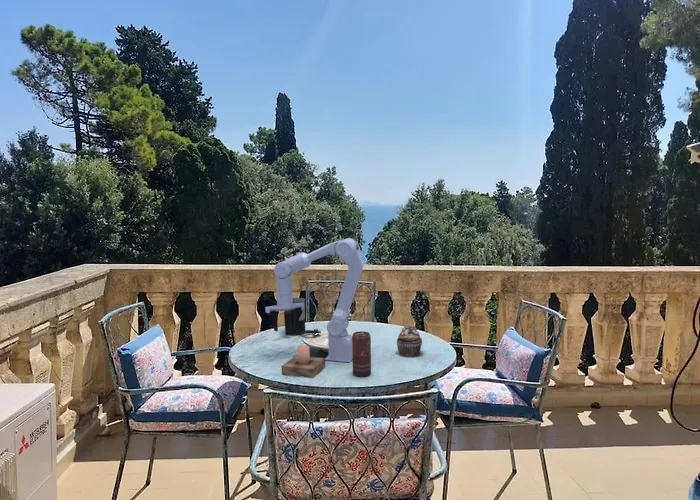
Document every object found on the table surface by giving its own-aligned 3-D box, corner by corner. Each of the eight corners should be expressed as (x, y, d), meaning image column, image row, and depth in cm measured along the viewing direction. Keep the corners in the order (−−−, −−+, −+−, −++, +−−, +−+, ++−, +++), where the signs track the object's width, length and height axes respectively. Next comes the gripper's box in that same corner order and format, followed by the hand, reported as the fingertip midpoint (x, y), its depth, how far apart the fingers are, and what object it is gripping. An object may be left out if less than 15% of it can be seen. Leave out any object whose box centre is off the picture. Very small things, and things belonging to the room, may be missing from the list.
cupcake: (392, 351, 199) (392, 325, 198) (416, 349, 202) (416, 323, 200) (401, 358, 190) (401, 331, 189) (426, 356, 192) (426, 329, 191)
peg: (311, 368, 180) (311, 345, 179) (307, 372, 176) (306, 349, 175) (300, 367, 181) (300, 344, 180) (296, 371, 177) (295, 348, 176)
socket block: (325, 366, 182) (325, 358, 182) (313, 377, 171) (313, 369, 171) (295, 363, 186) (295, 355, 185) (281, 374, 175) (281, 365, 174)
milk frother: (285, 330, 232) (285, 297, 230) (321, 329, 232) (320, 296, 231) (282, 339, 218) (281, 304, 216) (320, 338, 218) (320, 303, 217)
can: (370, 370, 178) (369, 330, 176) (371, 377, 171) (371, 335, 170) (352, 371, 177) (351, 330, 176) (353, 377, 171) (352, 336, 170)
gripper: (298, 290, 200) (299, 324, 201) (262, 293, 193) (263, 329, 195) (305, 293, 194) (306, 328, 195) (268, 297, 187) (269, 334, 189)
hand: (285, 329), depth 195 cm, fingers open, 7 cm apart
